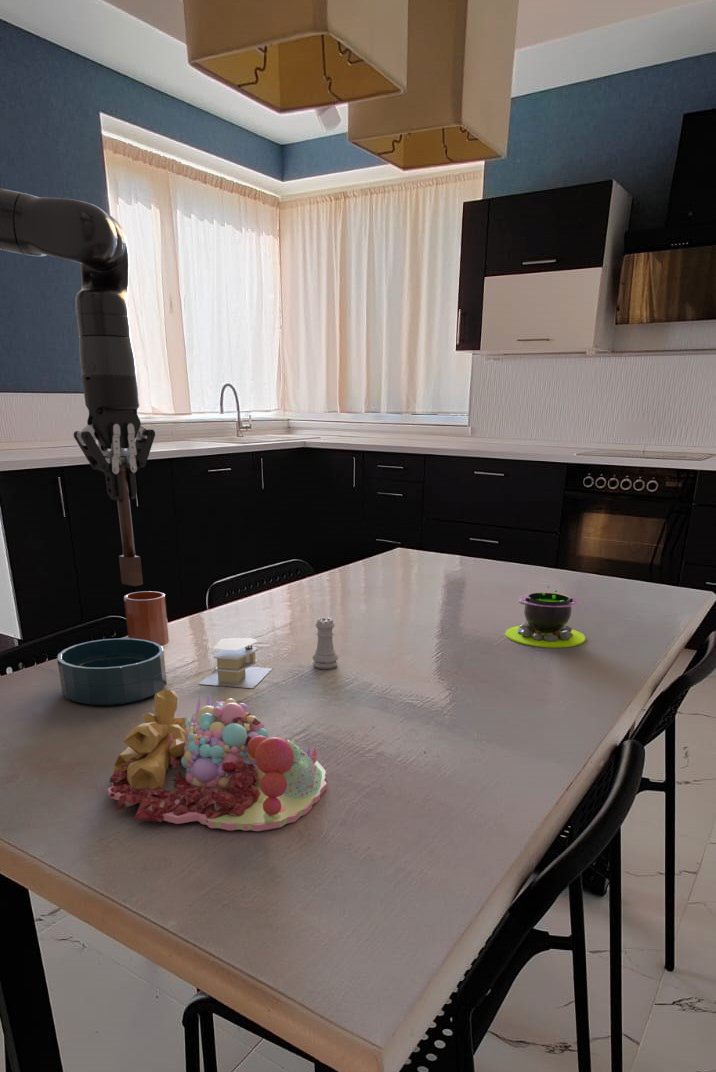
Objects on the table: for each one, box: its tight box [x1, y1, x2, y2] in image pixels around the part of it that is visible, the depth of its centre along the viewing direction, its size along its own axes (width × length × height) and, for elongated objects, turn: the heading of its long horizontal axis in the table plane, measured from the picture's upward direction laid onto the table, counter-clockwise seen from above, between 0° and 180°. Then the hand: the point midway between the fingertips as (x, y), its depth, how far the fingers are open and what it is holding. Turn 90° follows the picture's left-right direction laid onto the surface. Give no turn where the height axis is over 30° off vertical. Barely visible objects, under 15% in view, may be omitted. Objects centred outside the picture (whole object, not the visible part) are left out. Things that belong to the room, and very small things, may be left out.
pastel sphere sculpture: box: [107, 688, 327, 832], centre depth 88 cm, size 25×24×9 cm
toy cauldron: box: [505, 576, 586, 649], centre depth 145 cm, size 15×15×11 cm
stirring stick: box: [116, 464, 144, 587], centre depth 118 cm, size 3×2×18 cm, turn 55°
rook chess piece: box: [311, 617, 339, 670], centre depth 128 cm, size 4×4×8 cm
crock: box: [123, 590, 170, 646], centre depth 138 cm, size 7×7×9 cm
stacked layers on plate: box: [198, 637, 273, 689], centre depth 123 cm, size 10×9×6 cm
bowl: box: [56, 637, 168, 706], centre depth 117 cm, size 15×15×6 cm
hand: (122, 498), depth 117 cm, fingers closed on stirring stick, 2 cm apart
